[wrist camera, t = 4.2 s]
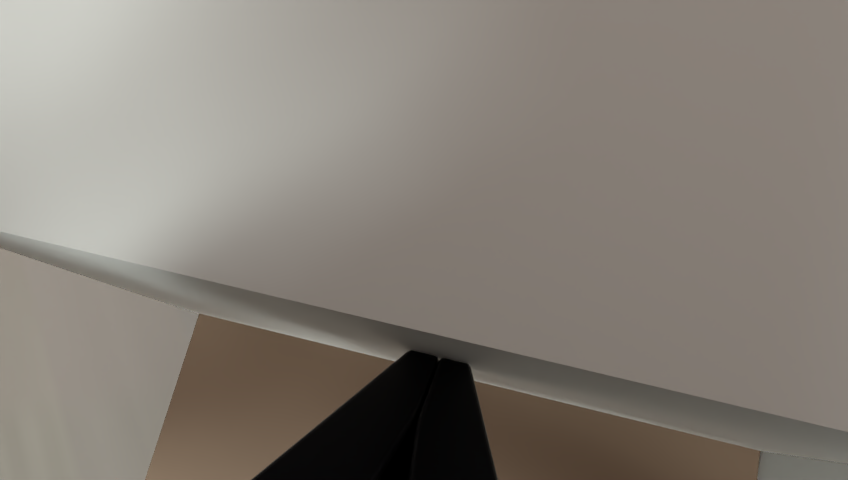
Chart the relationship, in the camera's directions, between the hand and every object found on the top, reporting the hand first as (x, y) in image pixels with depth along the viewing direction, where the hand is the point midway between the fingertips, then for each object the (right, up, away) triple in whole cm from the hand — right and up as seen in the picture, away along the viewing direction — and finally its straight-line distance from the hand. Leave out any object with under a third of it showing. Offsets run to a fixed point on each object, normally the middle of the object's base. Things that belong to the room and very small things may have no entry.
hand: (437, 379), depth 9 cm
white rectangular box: (+2, +2, +8) cm, 8 cm away
